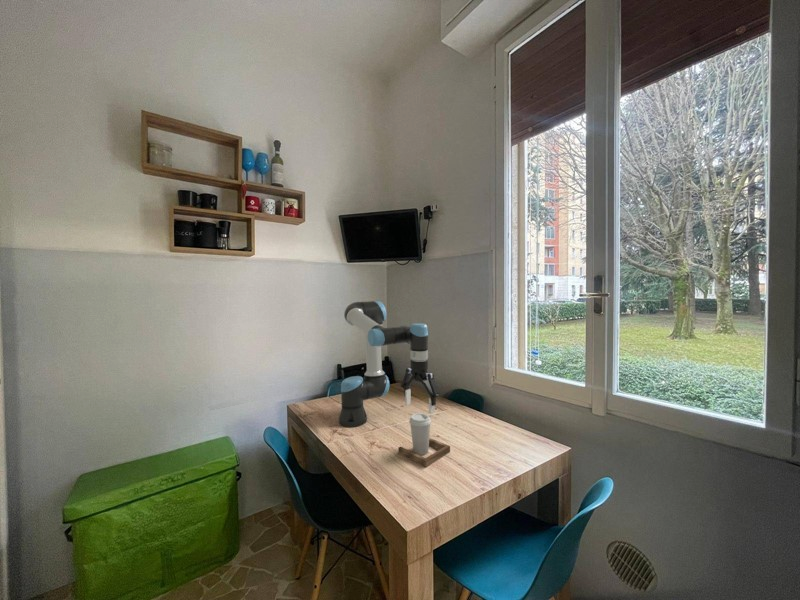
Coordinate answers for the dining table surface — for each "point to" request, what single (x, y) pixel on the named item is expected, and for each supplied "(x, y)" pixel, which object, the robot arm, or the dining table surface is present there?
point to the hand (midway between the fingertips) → (419, 408)
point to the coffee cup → (420, 432)
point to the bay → (430, 459)
